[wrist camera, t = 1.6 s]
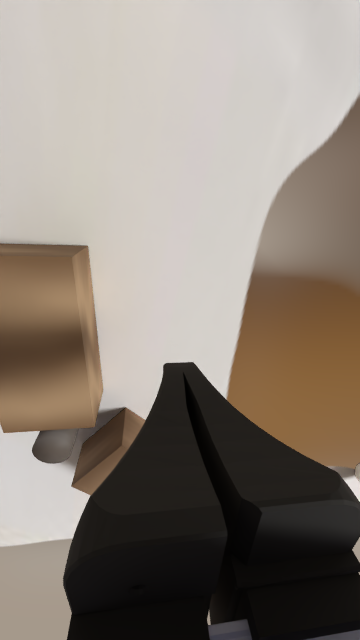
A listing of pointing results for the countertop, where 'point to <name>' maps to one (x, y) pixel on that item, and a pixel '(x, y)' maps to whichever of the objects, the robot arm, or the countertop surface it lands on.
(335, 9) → the countertop surface
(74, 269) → the swing leaf
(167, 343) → the countertop surface
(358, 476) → the eye dropper bottle
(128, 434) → the oblong wooden brick
